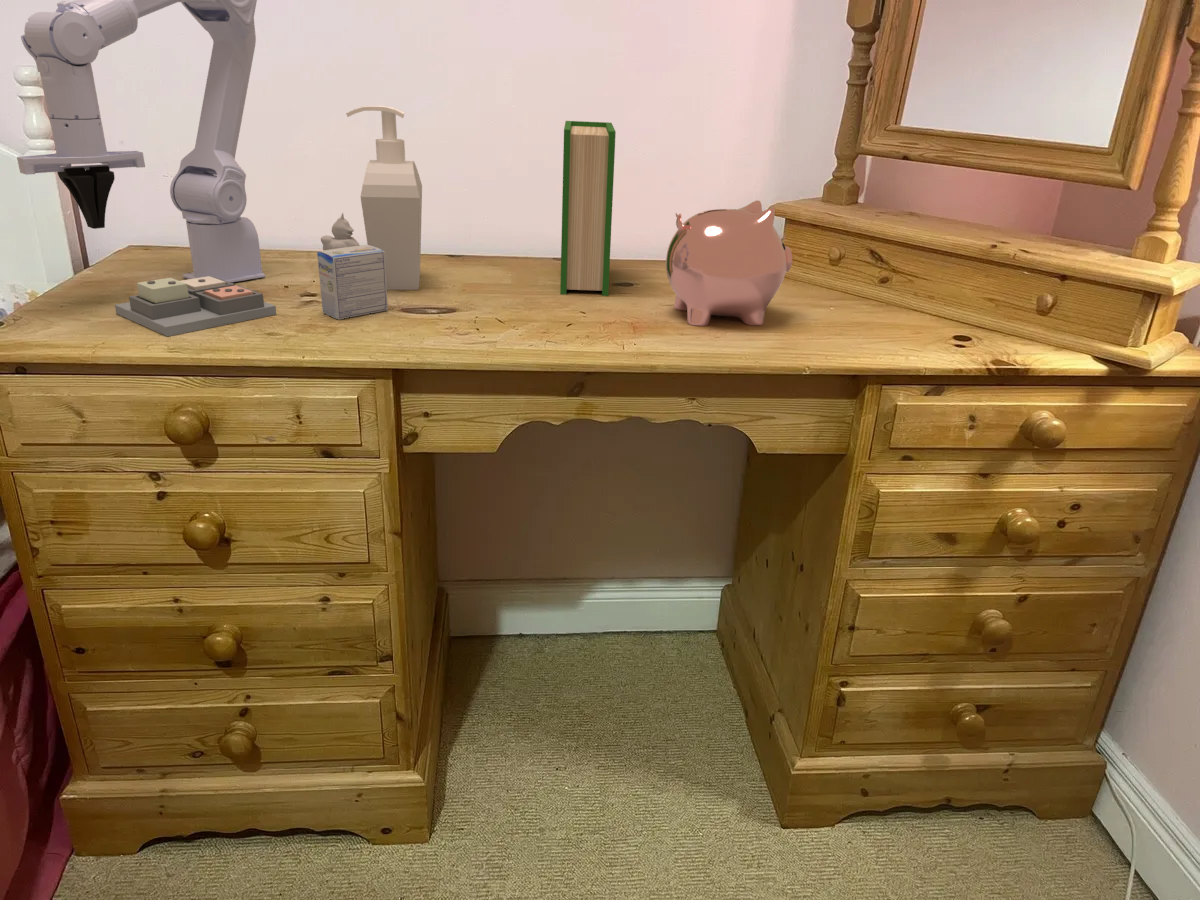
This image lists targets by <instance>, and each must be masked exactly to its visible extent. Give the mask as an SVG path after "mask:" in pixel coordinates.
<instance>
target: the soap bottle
mask: <svg viewBox="0 0 1200 900" xmlns="http://www.w3.org/2000/svg"><path fill="white" fill-rule="evenodd" d="M366 111H367V112H369V111H374V112H381V113H380V114H381V129H382V138H377V139H375V151H376V159H369V161H368V162H367V165H366V168H365V172H364V177H363V181H362V187H361V192H360V202H361V209H362V217H363V222H364V231H365V237H366V243H367V244H366V245H370V246H374V247H376V248H379V249H381V250H383V251H385V264H386V283H387V291H389V290H391V291H392V290H394V291H398V290H399V291H405V290H406V291H407V290H408V291H409V290H410V291H411V290H412V291H414V290H415V291H418V290H419V288H420V282H421V281H420V279H421V254H422V253H421V251H422V250H421V249H422V246H421V245H422V242H421V241H422V211H423V210H422V209H423V208H422V205H423V204H422V203H423V201H422V200H423V184H422V182H421V177H420V174H419V171H418V168H417V165H416V163H415V161H414V160H406V150H405V145H406V144H405V140H404V139H401V138H400V139H399V138H398V137H397V136H398V134H397V133H398V132H397V118H396V116H398V117H400V118H402V119H404V117H405V114H406V112H404V111H402V110H400V109H398V108H396V107H392V106H387V105H364V106H360V107H357V108H354V109H353V110H350V111H348V112H346V113H345V114H346V116H347V118H349V117H352V116H353V115H355V114H358V113H361V112H366Z"/></svg>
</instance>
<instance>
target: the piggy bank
mask: <svg viewBox="0 0 1200 900" xmlns="http://www.w3.org/2000/svg"><path fill="white" fill-rule="evenodd" d="M762 207H763V206H762V202H761V201H760V200H755V201H752V202H751V203H749V204H747V205H745V206H742V207H740V208H735V209H734V208H733V209H732V208H719V209H709V210H705V211H701V212H698V213H696V214H694V215H692V216H691V217H689V218H688V219H686V220H685V221H684V222H682V213H678V214H677V212H675V217H676V221H675V225H676V229H677V230H676V231H675V233H674V235H673V236H672V238H671V240H670V242H669V244H668V248H667V251H666V256H665V270H666V275H667V279H668V282H669V285H670V287H671V290H672V291H673V293H674V294H675V299H674V304H673V308H674V309H675V310H678V311H687V312H686V315H687V316H686V317H687V318H686V319H687V320H686V321H687V324H688V325H691V326H693V327H705V326H708V325H709V324H710V321H711V317H712V316H718V317H737V318H740V320H741V321H742V322H743V324H745V325H748V326H762V325H764V323H765V314H766V309H767V308H768V306H769V304H770V303H771V302H772V300H773V299H774V297H775V295H776V293H777V292H778V291H779V289H780V287H781V285H782V283H783V281H784V279H785V276H786V273H788V272H790V271H791V268H792V263H793V255H792V254H793V253H792V249H791V248H790V247H789V246H786V245H785V243H784V242H783V240H782V238H781V237H780V235H779V234H778V231H777V230H776V227H775V226H774V221H775V215H776V209H775V207H769V208H767V209H765V210H763V208H762Z"/></svg>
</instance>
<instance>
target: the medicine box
mask: <svg viewBox="0 0 1200 900" xmlns="http://www.w3.org/2000/svg"><path fill="white" fill-rule="evenodd" d="M316 254H317V255H316V256H317V266H318V267H317V268H318V276H319V285H320V286H319V287H320V296H321V306H322V307H321V309H322V312H323V314H324V315H326V316H328V317H330V316H331V318H333V319H335V320H337V319H338V321H340V320H344V318H345V319H349V317H350V318H353V317H358V316H365V315H369V314H370V313H371V314H375V313H380V312H385V311H388V310H389V305H388V290H387V283H386V264H385V251H383V250H381V249H379V248H376V247H374V246H370V245H367V244H364V245H363V244H362V245H360V246H353V247H345V248H337V249H330V250H323V249H322V250H319V251H317V253H316Z"/></svg>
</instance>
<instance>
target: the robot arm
mask: <svg viewBox="0 0 1200 900" xmlns="http://www.w3.org/2000/svg"><path fill="white" fill-rule="evenodd" d="M257 2H258V0H72V1H68V0H62V1H59V2H57V4H56V6H57V9H56V10H55V11H37V12H35V13H33V14H31V15H30V16H29V17H27V22H25V25H24V34H23V35H22V34H21V35H20V40H21V43H22V44H23V47H24V49H25V51H27V53H28V54H29V56H31V57H32V58H33V60H34V61H35V64H36V69H37V72H38V73H39V74H40V79H41V84H42V85H41V86H42V91H43V94H44V100H45V105H46V110H47V115H48V119H49V123H50V127H51V132H52V138H53V143H54V147H55V152H56V153H47V154H36V155H25V156H16V160H17V164H18V169H19V173H20V174H24V175H36V174H45V173H57V175H58V178H59V180H61V182H62V184H64V186H65V187H66V188H67V190H68V191H69V193H70V194H71V195H72V197H73V198H74V200H75V203H76V204H77V206H78V207H79V209H80V211H81V213H82V216H83V218H84V220H85V223H86V226H87V228H90V229H94V230H96V229H103V228H106V227H105V225H106V210H107V204H108V199H109V196H110V193H111V189H112V186H113V184H114V181H115V179H116V178H115V177H116V176H115V172H114V171H113V170H110V169H124V168H125V169H126V168H137V169H138V168H146V163H145V162H146V161H145V156H144V152H143V151H142V152H141V151H138V150H128V151H127V150H125V151H121V150H120V151H119V150H118V151H117V150H115V151H114V150H113V151H108V150H107V145H106V139H105V134H104V128H103V127H104V126H103V121H102V118H101V111H100V106H99V102H98V94H97V90H96V83H95V79H94V78H95V77H94V72H93V67H92V63H93V62H94V61H95V60H96V59H97V57H98V55H99V51H100V50H102V49H104V48H106V47H109V46H110V45H112V44H114V43H116V42H118V41H121V40H123V39H124V38H127V37H129V36H130V35H133V34H134V33H136V31H137V29H138V26H139V25H138V23H139V22H138V20H139V19H140V18H143V17H145V16H147V15H150V14H151V13H155V12H158V11H159V10H162V9H165V8H166V7H167V8H168V7H170V6H172V5H174V4H177V3H181V5H182V6H183V7H184V8H185V9H186V11H188V12H189V14H191V16H192V17H193V18H194V19H195V20H196V21H197V22H198V23H199V25H200V26H202V28H203V29H204V30H205V31H206V32H207V33H208V34H209V35H210V38H211V39H212V42H213V43H212V48H211V56H210V59H209V67H208V70H207V77H206V81H205V82H206V84H205V88H204V94H203V99H202V105H201V111H200V116H199V122H198V128H197V132H196V133H197V134H196V139H195V146H194V148H193V149H192V150H191V151H190V152H189V153H187V154H186V155H185V156H184V157H183V158H181V160H180V165H179V169H178V171H177V173H176V174H175V175H174V177H173V178H172V180H171V183H170V188H169V194H170V199H171V201H172V204H173V205H174V207H175V208H176V209H177V210H178V211H180V212H181V214H182V219H183V220H185V223H186V230H187V231H186V232H187V236H188V244H189V245H188V246H189V250H190V257H191V258H190V259H191V263H192V271H193V272H188V273H182V277H183V278H185V279H186V280H188V279H194V278H201V277H207V276H213V277H216V278H219V279H222V280H225V281H228V282H230V283H236V282H242V281H248V280H254V279H262V278H265V277H266V274H265V273H264V272H263V266H262V259H261V249H260V248H261V247H260V241H259V235H258V231H257V229H256V226H255V225H254V223H253V222H252V220H251V219H249V218H248V217H245V216H242V214H243V213H244V211H245V210H246V207H247V200H248V199H247V193H246V179H247V178H246V177H247V173H246V172H245V171H244V169H243V168H242V167H241V166H240V165H239V163H238V162H237V161H236V153H237V148H238V141H239V137H240V132H241V126H242V122H243V121H242V120H243V114H244V111H245V110H244V109H245V104H246V98H247V93H248V88H249V81H250V76H251V71H252V67H253V59H254V55H255V48H256V42H257V38H256V37H257V36H256V28H255V12H256V7H257ZM80 164H82V165H80ZM83 164H84V165H83ZM87 164H88V165H87ZM89 164H90V165H89Z"/></svg>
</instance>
